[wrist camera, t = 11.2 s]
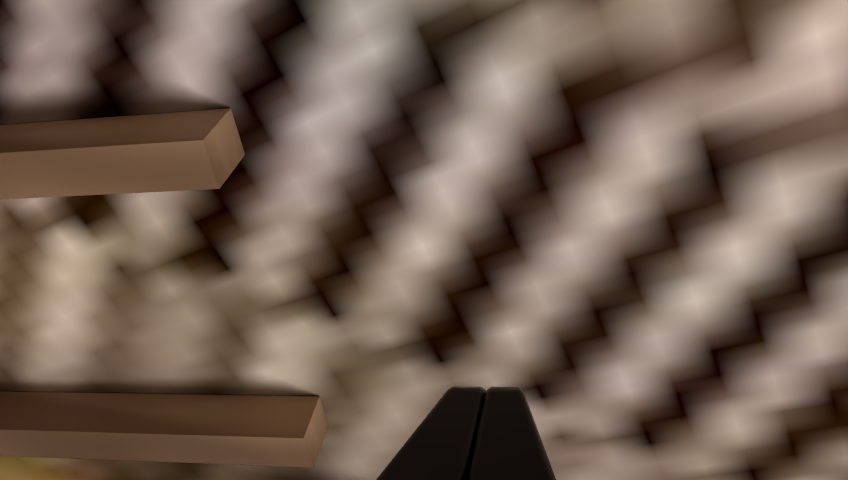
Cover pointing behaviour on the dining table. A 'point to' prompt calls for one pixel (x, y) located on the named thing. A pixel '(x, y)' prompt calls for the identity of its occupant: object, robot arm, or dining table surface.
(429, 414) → the robot arm
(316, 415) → the pair of brown bars
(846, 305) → the dining table surface
